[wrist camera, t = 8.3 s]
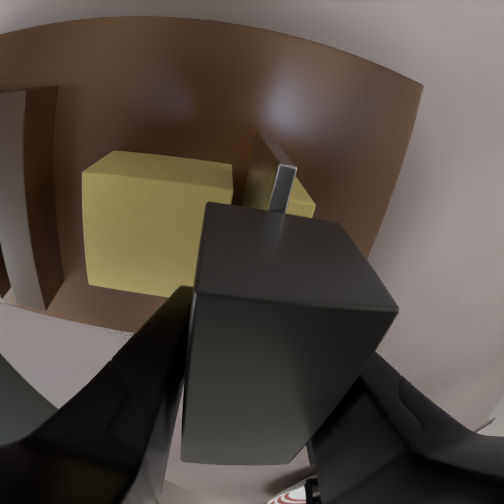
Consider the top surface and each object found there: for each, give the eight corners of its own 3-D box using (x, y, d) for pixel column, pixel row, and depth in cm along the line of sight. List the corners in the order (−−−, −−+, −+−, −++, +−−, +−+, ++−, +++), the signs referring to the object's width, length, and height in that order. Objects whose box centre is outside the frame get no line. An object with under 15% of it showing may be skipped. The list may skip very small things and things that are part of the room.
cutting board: (407, 83, 12) (459, 90, 8) (318, 334, 20) (333, 382, 16) (-11, 43, 8) (-59, 45, 5) (5, 288, 16) (-22, 326, 12)
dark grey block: (302, 139, 10) (432, 252, 4) (256, 310, 14) (279, 474, 7) (219, 123, 10) (202, 212, 3) (193, 303, 14) (180, 472, 7)
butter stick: (232, 164, 12) (233, 189, 9) (215, 259, 14) (213, 303, 11) (113, 149, 11) (81, 171, 8) (111, 244, 13) (88, 285, 11)
